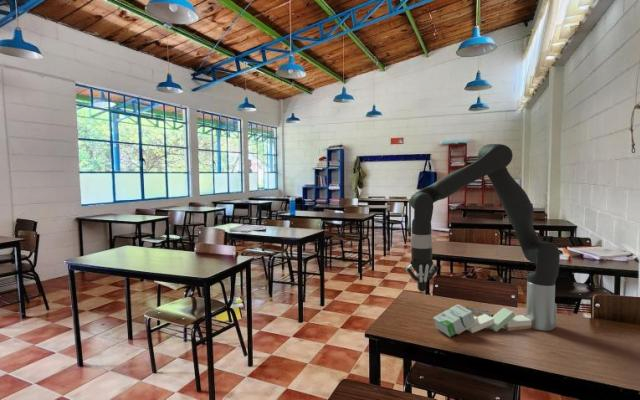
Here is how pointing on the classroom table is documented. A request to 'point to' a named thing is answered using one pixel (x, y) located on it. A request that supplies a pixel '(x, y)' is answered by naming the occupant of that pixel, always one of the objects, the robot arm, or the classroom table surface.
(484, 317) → the domino
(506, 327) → the domino end
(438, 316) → the ink box
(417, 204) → the robot arm
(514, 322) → the domino
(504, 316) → the domino
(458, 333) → the domino
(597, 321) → the classroom table surface
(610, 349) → the classroom table surface
